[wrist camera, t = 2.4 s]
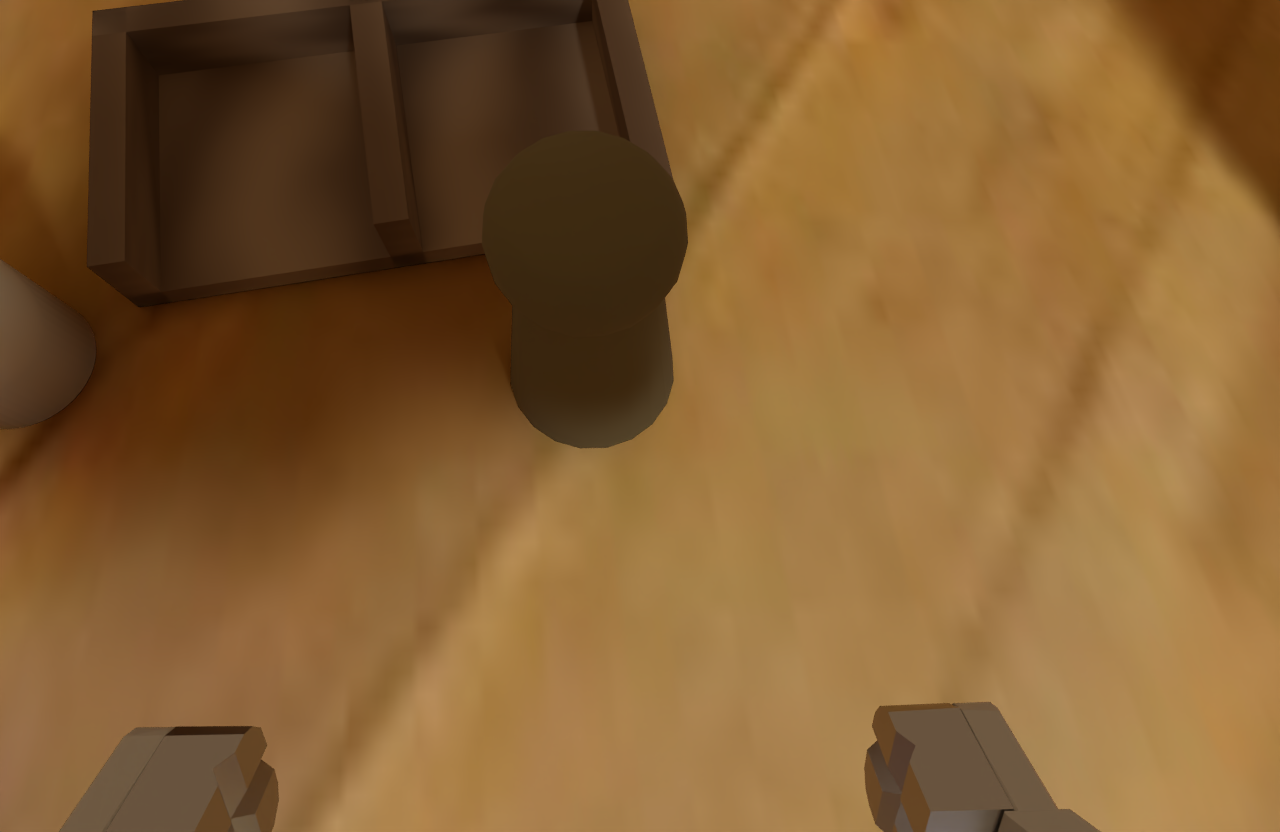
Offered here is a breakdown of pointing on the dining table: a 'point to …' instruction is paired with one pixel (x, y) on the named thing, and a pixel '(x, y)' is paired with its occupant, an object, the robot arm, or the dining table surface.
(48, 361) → the salt cellar
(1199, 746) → the dining table surface
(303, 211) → the brown wooden tray
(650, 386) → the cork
